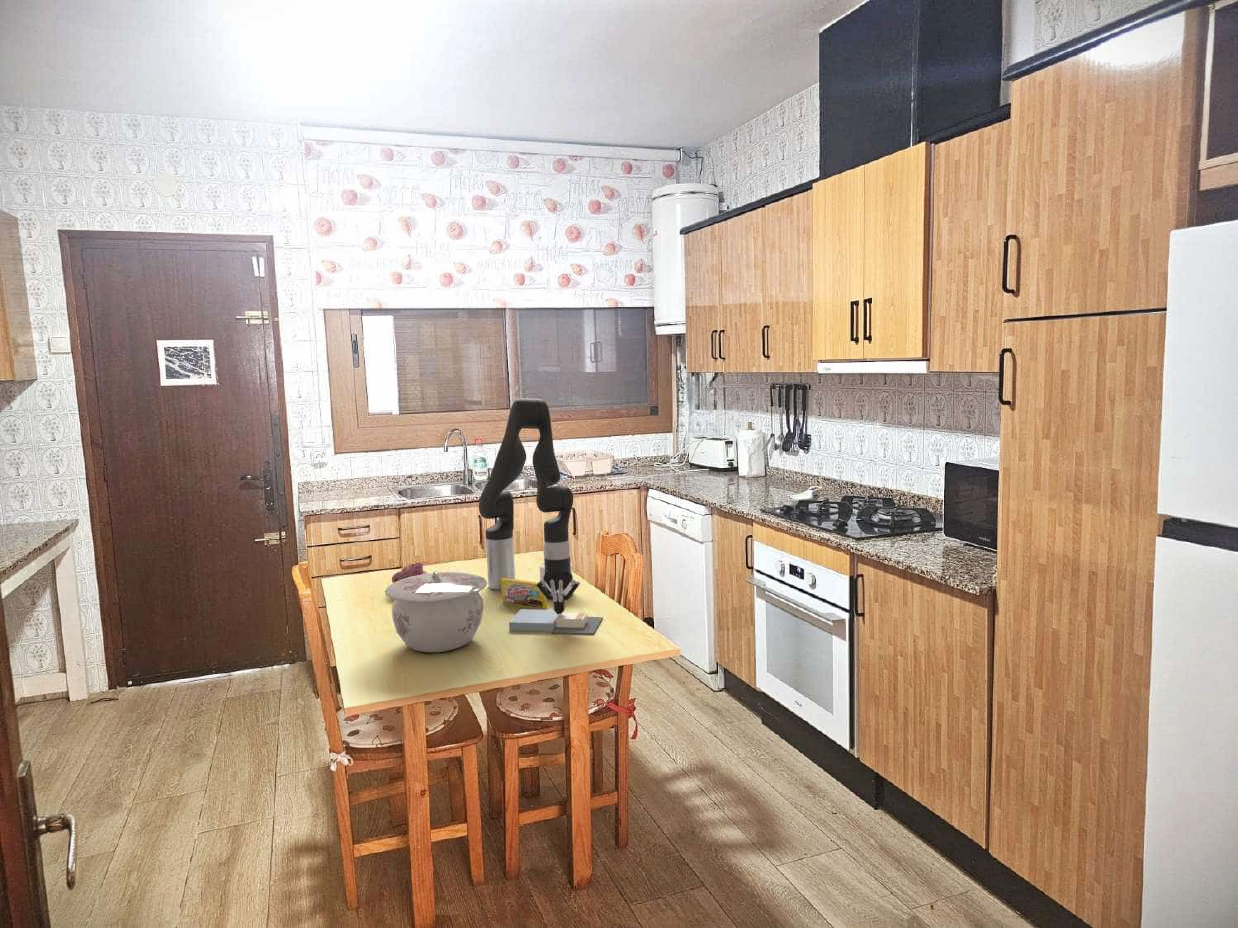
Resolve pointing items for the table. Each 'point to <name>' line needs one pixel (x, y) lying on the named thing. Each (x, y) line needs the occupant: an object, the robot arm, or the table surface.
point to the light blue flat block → (533, 620)
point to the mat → (587, 629)
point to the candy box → (522, 594)
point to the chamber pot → (437, 610)
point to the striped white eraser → (571, 620)
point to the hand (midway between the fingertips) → (559, 613)
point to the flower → (409, 572)
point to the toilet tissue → (542, 573)
